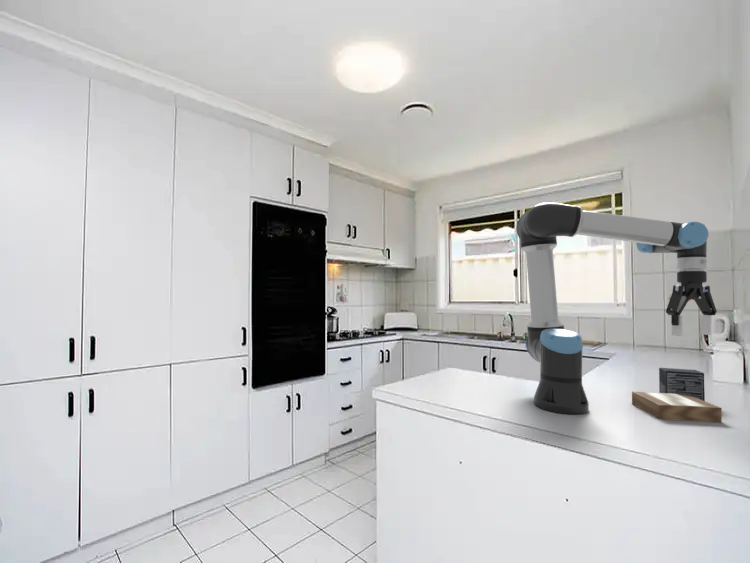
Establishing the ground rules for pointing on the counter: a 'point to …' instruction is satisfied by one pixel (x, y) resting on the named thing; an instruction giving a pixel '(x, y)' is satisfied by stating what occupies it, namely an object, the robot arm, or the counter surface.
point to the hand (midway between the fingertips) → (691, 335)
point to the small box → (682, 382)
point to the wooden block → (676, 407)
